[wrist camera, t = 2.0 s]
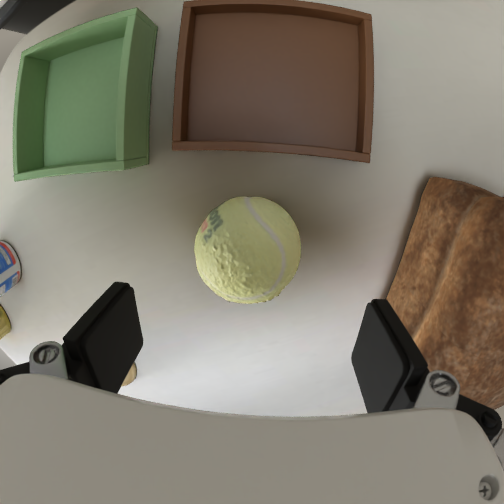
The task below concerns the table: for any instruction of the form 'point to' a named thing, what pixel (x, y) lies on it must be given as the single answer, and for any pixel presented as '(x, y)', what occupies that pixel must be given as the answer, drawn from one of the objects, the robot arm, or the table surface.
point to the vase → (4, 323)
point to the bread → (456, 286)
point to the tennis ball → (247, 250)
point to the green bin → (85, 99)
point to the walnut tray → (274, 78)
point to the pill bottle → (8, 267)
